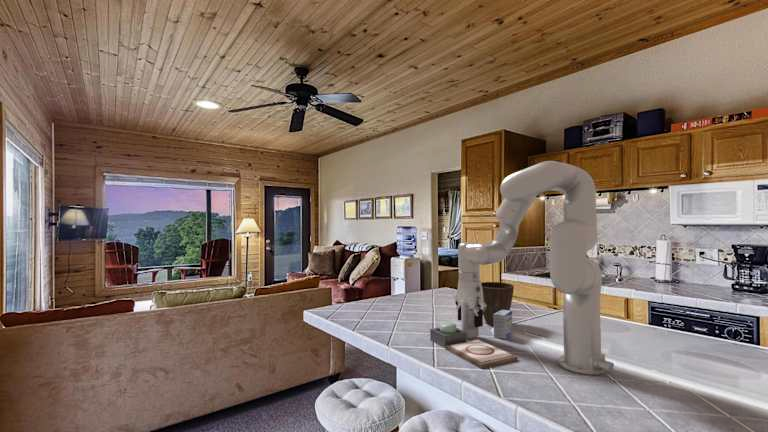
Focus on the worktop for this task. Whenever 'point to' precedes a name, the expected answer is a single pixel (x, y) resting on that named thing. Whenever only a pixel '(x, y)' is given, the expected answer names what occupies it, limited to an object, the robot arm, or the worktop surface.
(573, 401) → the worktop surface
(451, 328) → the button
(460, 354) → the sketch board
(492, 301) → the plant pot
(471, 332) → the energy drink can
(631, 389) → the worktop surface
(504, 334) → the medicine box
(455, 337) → the button housing
